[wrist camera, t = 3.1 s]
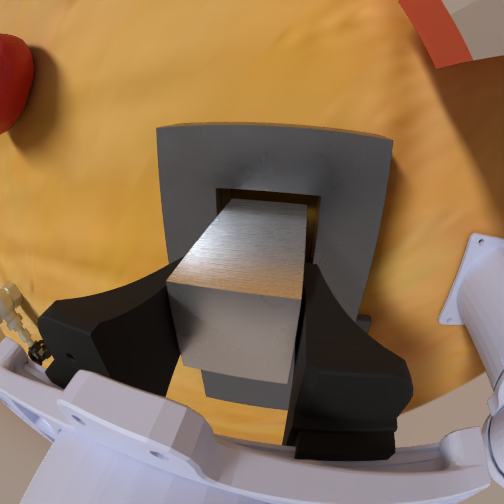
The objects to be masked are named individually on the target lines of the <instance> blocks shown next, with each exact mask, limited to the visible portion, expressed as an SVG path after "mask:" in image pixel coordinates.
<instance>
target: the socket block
mask: <svg viewBox="0 0 504 504" xmlns="http://www.w3.org/2000/svg"><path fill="white" fill-rule="evenodd" d="M156 132H157V152H158V168H159V181H160V192H161V203H162V213H163V222H164V230H165V238H166V246H167V253H168V261H169V264H171V263H172V262H174V261H176V260H178V259H180V258H181V257H183V256H185V255H187V253H188V252H189V251H190V250H191V248H192V247H193V246H194V245H195V243H196V242H197V241H198V240H199V238H200V237H201V236H202V235H203V233H204V232H205V231H206V230H207V228H208V227H209V226H210V225H211V224H212V222H213V221H214V220H215V219H216V217H217V216H218V215H219V214H220V213H221V211H222V210H223V209H224V208H225V207H226V205H227V204H228V203H229V202H230V201H231V189H245V190H260V191H273V192H285V193H296V194H306V195H316V196H318V202H317V211H316V220H315V229H314V237H313V246H312V253H311V261H309V260H304V263H311V264H317V265H318V266H319V268H320V271H321V273H322V275H323V277H324V279H325V281H326V283H327V285H328V286H329V288H330V290H331V291H332V293H333V295H334V296H335V298H336V299H337V301H338V302H339V304H340V305H341V307H342V308H343V309H344V310H345V312H346V313H347V314H348V315H349V316H350V318H351V319H352V320H353V321H354V322H355V321H356V318H357V315H358V312H359V308H360V305H361V301H362V298H363V294H364V291H365V287H366V283H367V280H368V276H369V272H370V268H371V264H372V260H373V256H374V252H375V247H376V243H377V238H378V234H379V229H380V224H381V219H382V214H383V208H384V203H385V197H386V191H387V185H388V178H389V171H390V164H391V156H392V148H393V140H391V139H389V138H386V137H383V136H381V135H377V134H371V133H365V132H358V131H351V130H344V129H336V128H327V127H318V126H307V125H294V124H279V123H254V122H206V123H182V124H175V125H169V126H163V127H158V128H156Z"/></svg>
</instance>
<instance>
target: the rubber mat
mask: <svg viewBox="0 0 504 504" xmlns="http://www.w3.org/2000/svg"><path fill="white" fill-rule="evenodd" d="M371 322H372V321H371V316H359V315H357V318H356V321H355V323H356V324H357V325H358V326H359V327H360V328H361V329H362V330H363V331H365V332H366V333H368V330H369V327H370V324H371ZM294 353H295V343H294V349H293V355H292V360H291V366H290V371H289V377H288V382H287V384H283V383H276V382H268V381H261V380H255V379H248V378H242V377H237V376H231V375H226V374H220V373H215V372H211V371H206V370H201V372H202V378H203V383H204V388H205V393H206V397H210V398H215V399H220V400H224V401H230V402H235V403H240V404H246V405H252V406H259V407H266V408H273V409H281V410H288V408H289V401H290V395H291V388H292V381H293V374H294Z"/></svg>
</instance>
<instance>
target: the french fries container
mask: <svg viewBox="0 0 504 504" xmlns="http://www.w3.org/2000/svg"><path fill="white" fill-rule="evenodd" d="M398 2H399V4H400V5H401V7H402V8H403V10H404V11H405V13H406V14H407V16H408V18H409V19H410V21H411V22H412V24H413V26H414V27H415V29H416V31H417V33H418V34H419V36H420V38H421V40H422V42H423V44H424V45H425V47H426V49H427V51H428V53H429V55H430V57H431V59H432V61H433V63H434V65H435V68H436V69H437V68H442V67H446V66H450V65H454V64H459V63H463V62H468V61H473V60H479V59H484V58H490V57H496V56H503V55H504V0H399V1H398Z"/></svg>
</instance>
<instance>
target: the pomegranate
mask: <svg viewBox="0 0 504 504" xmlns="http://www.w3.org/2000/svg"><path fill="white" fill-rule="evenodd" d="M33 77H34V63H33V58H32V55H31V51H30V49H29V48H28V46H27V44H26V43H25V42H24V41H23V40H22V39H20V38H18V37H16V36H13V35H8V34H0V134H2V133H4V132H6V131H7V130H9V129H10V128H11V127H12V126H13V125H14V123H15V122H16V120H17V119H18V117H19V116H20V115H21V113H22V111H23V109H24V107H25V105H26V102H27V99H28V95H29V91H30V88H31V85H32V82H33Z"/></svg>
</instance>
